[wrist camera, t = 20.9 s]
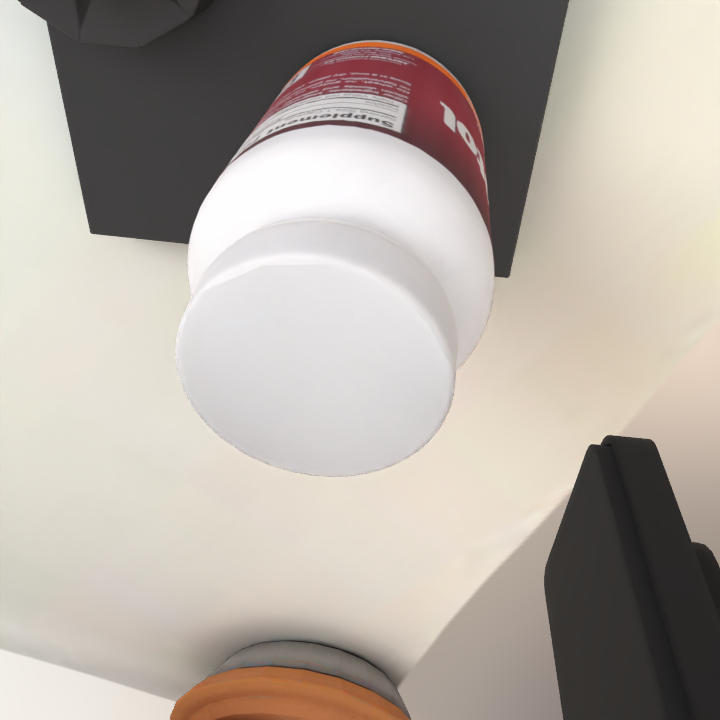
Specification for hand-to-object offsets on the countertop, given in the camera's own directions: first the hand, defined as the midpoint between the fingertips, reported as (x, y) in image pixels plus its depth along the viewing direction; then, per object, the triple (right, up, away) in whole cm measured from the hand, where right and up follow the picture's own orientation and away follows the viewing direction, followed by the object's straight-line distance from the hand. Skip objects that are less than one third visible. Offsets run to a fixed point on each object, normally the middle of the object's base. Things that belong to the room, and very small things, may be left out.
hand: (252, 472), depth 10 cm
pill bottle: (+2, +8, +10) cm, 13 cm away
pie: (-2, -19, +33) cm, 38 cm away
